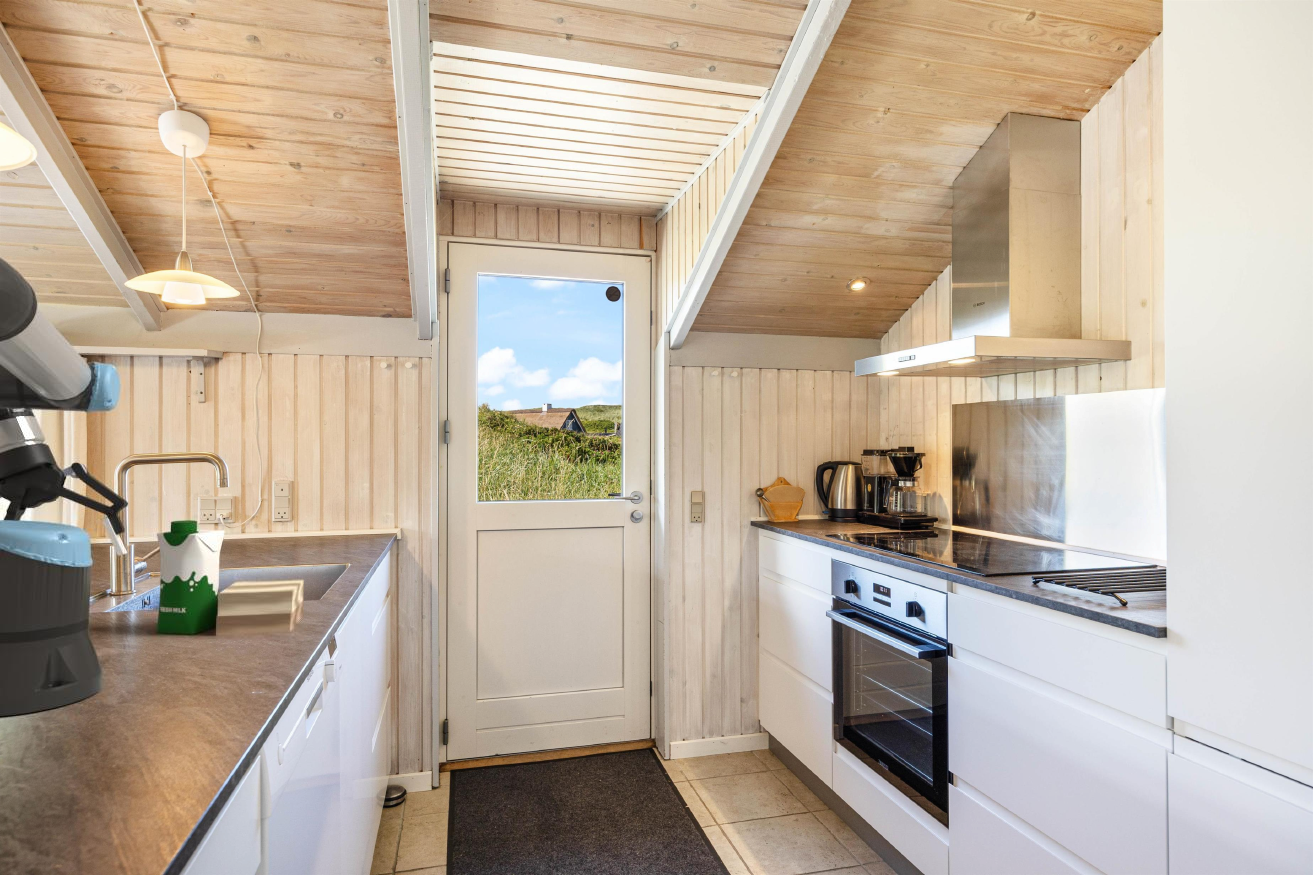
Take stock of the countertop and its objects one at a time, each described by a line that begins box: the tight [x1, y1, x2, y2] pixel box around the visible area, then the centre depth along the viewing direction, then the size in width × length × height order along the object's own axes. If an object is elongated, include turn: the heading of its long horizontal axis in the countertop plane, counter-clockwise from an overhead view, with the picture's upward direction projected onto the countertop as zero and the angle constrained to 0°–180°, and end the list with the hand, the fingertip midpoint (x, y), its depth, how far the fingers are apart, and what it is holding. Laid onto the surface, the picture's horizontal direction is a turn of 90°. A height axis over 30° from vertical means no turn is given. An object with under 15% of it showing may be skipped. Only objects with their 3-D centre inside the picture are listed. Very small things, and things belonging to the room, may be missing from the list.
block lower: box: [215, 600, 304, 637], centre depth 137 cm, size 12×12×4 cm
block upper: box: [218, 579, 305, 616], centre depth 137 cm, size 12×12×4 cm
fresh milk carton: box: [156, 520, 226, 635], centre depth 134 cm, size 9×9×20 cm
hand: (74, 573), depth 116 cm, fingers open, 13 cm apart
